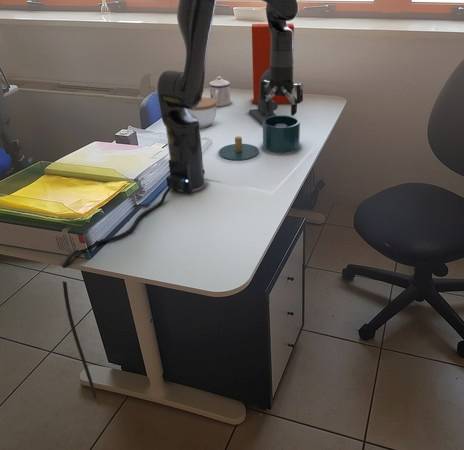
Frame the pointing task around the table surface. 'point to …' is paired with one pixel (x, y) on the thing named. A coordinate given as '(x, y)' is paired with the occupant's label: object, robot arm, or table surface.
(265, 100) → the robot arm
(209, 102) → the lidded bowl
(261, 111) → the faucet
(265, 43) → the file binder
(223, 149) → the tin lid
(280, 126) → the glue stick
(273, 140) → the tin
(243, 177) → the table surface
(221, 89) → the teacup with lid
